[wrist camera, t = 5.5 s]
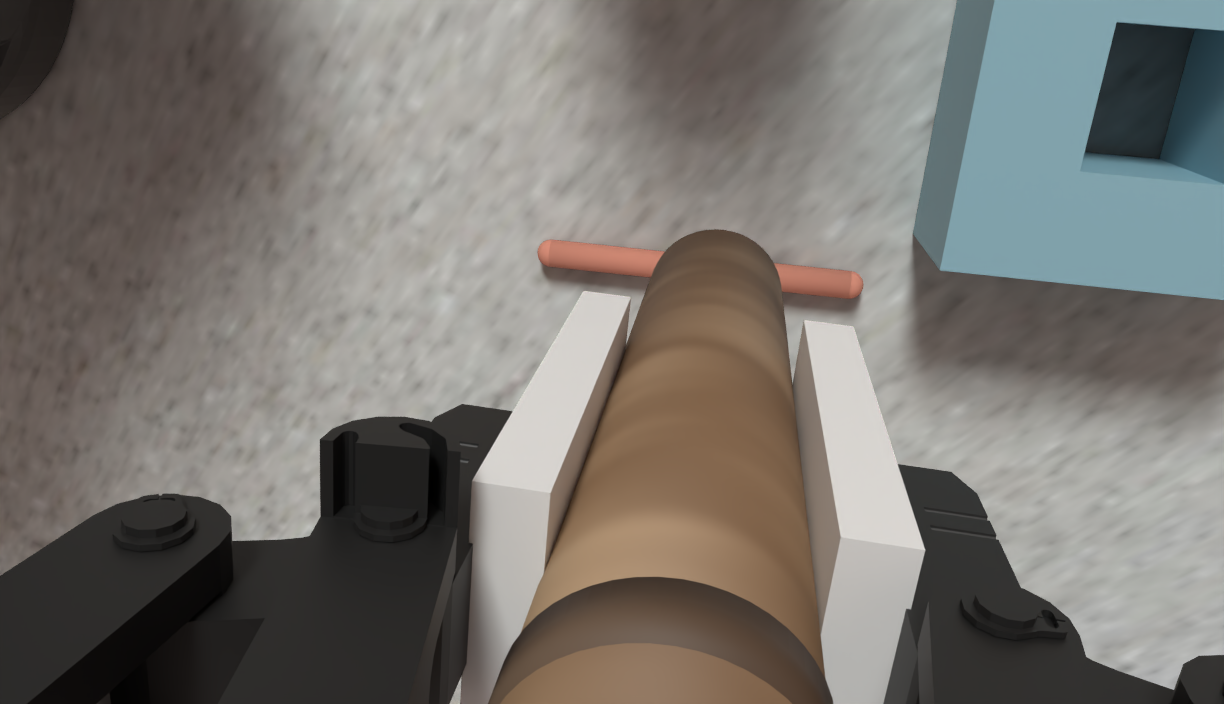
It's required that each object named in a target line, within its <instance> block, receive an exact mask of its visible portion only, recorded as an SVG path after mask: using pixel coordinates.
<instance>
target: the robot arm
mask: <svg viewBox="0 0 1224 704" xmlns="http://www.w3.org/2000/svg"><path fill="white" fill-rule="evenodd" d="M72 6H73V0H0V118H2V117H4V116H5V115H7V114H8V113H10V112H12V111H13V110H14V109H15V108H17V107H18V106H19V105H20V104H22V103H23V102H24V101H25V100H26V99H27V98H28V97H29V96H30V95H31V94H32V93H33V92H34V91H35V89H36V88H37V87H38V86H39V85H40V84H41V82H42V81H43V79H44V78H45V76H46V75H47V74H48V72H49V70H50V68H51V67H52V65H53V63H54V62H55V59H56V57H57V55H58V53H59V51H60V49H61V46H62V43H63V41H64V38H65V35H66V32H67V28H68V25H69V21H70V16H71V11H72ZM630 301H631V297H626V296H619V295H611V294H604V293H596V292H589V291H583V293H582V294H581V296H580V298H579V299H578V301H577V303H576V305H575V306H574V308H573V310H572V311H571V313H570V315H569V316H568V318H567V320H566V322H565V323H564V325H563V327H562V328H561V330H560V332H559V334H558V335H557V337H556V339H555V340H554V342H553V344H552V345H551V347H550V349H549V351H548V352H547V354H546V356H545V357H544V359H543V361H542V362H541V364H540V366H539V368H538V369H537V371H536V373H535V374H534V376H533V378H532V380H531V381H530V383H529V385H528V386H527V388H526V390H525V391H524V393H523V395H522V397H521V398H520V400H519V402H518V403H517V405H516V407H515V408H514V410H513V411H507V410H500V409H493V408H486V407H479V406H472V405H465V404H461V405H459V406H457V407H455V408H453V409H451V410H449V411H447V412H445V413H443V414H441V415H439V416H437V417H435V418H434V419H433V421H432V422H430V421H425V420H420V419H414V418H408V417H373V418H367V419H361V420H355V421H351V422H349V423H346V424H344V425H341V426H338V427H336V428H333V429H332V430H331V431H329V432H328V433H327V434H326V435H325V436H324V437H322V438H321V439H320V500H321V517H320V519H319V521H318V522H317V524H316V526H315V528H314V530H313V531H312V533H311V535H310V536H308V537H304V538H294V539H283V540H256V541H232V527H231V516H230V515H229V514H228V513H227V511H226V510H225V509H224V508H223V507H222V506H221V505H219V504H217V503H214V502H211V501H209V500H206V499H204V498H201V497H193V496H184V495H179V494H162V496H159V494H156V495H148V496H143V497H140V498H139V499H135V500H131V501H127V502H123V503H119V504H116V505H114V506H112V507H110V508H108V509H106V510H104V511H102V512H100V513H97V514H95V515H93V516H92V517H90V518H89V519H87V520H86V521H84V522H83V523H81V524H79V525H78V526H76V527H75V528H73V529H72V530H70V531H69V532H67V533H66V534H64V535H63V536H61V537H59V538H58V539H56V540H55V541H53V542H52V543H50V544H49V545H47V546H46V547H44V548H43V549H41V550H39V551H38V552H36V553H35V554H33V555H32V556H30V557H29V558H27V559H26V560H24V561H23V562H21V563H19V564H18V565H16V566H15V567H13V568H12V569H10V570H9V571H7V572H6V573H4V574H3V575H1V576H0V704H449V703H450V701H451V698H452V696H453V694H454V692H455V689H456V687H457V685H458V682H459V680H460V678H461V675H462V682H461V701H460V704H488V702H489V700H490V697H491V694H492V692H493V689H494V686H495V684H496V681H497V678H498V676H499V673H500V670H501V668H502V665H503V662H504V660H505V658H506V656H507V654H508V652H509V650H510V648H511V646H512V644H513V643H514V642H515V640H516V639H517V637H518V636H519V635H520V633H521V630H522V628H523V625H524V622H525V619H526V617H527V614H528V611H529V609H530V606H531V603H532V600H533V598H534V595H535V592H536V589H537V587H538V584H539V582H540V580H541V578H542V576H543V574H544V572H545V569H546V566H547V564H548V561H549V558H550V555H551V553H552V550H553V547H554V544H555V542H556V539H557V536H558V533H559V531H560V528H561V525H562V522H563V520H564V517H565V514H566V511H567V509H568V506H569V503H570V500H571V498H572V495H573V492H574V489H575V487H576V484H577V481H578V478H579V476H580V473H581V470H582V467H583V465H584V462H585V459H586V456H587V454H588V451H589V448H590V445H591V443H592V440H593V437H594V434H595V432H596V429H597V426H598V423H599V421H600V418H601V415H602V412H603V410H604V407H605V404H606V401H607V399H608V396H609V393H610V390H611V388H612V385H613V382H614V379H615V377H616V374H617V371H618V368H619V366H620V363H621V360H622V357H623V355H624V352H625V348H626V338H627V329H628V320H629V311H630ZM792 386H793V395H794V404H795V413H796V421H797V430H798V439H799V448H800V457H801V466H802V475H803V484H804V492H805V501H806V510H807V519H808V528H809V537H810V546H811V555H812V564H813V572H814V581H815V590H816V599H817V608H818V617H819V626H820V635H821V643H822V652H823V661H824V670H825V679H826V682H827V685H828V687H829V690H830V693H831V696H832V699H833V704H1224V655H1213V656H1198V657H1196V658H1194V659H1192V660H1190V661H1188V662H1186V663H1185V664H1183V667H1182V670H1181V673H1180V675H1179V678H1178V681H1177V683H1176V686H1175V689H1174V690H1172V689H1169V688H1166V687H1163V686H1160V685H1157V684H1154V683H1151V682H1149V681H1146V680H1143V679H1140V678H1137V677H1134V676H1131V675H1128V674H1125V673H1122V672H1119V671H1117V670H1114V669H1112V668H1109V667H1107V666H1104V665H1102V664H1099V663H1097V662H1095V661H1092V660H1091V659H1089V658H1087V657H1086V655H1085V652H1084V648H1083V645H1082V642H1081V638H1080V635H1079V634H1078V632H1077V630H1076V629H1075V627H1074V626H1073V624H1072V622H1071V621H1070V619H1069V618H1068V617H1067V616H1065V615H1064V614H1063V613H1062V612H1061V611H1059V610H1058V609H1057V608H1056V607H1055V606H1053V605H1052V604H1051V603H1050V602H1048V601H1046V600H1044V599H1042V598H1040V597H1038V596H1037V595H1035V594H1033V593H1031V592H1029V591H1027V590H1025V589H1023V588H1021V587H1020V585H1019V583H1018V581H1017V579H1016V576H1015V574H1014V572H1013V570H1012V568H1011V566H1010V564H1009V561H1008V559H1007V557H1006V555H1005V553H1004V551H1003V548H1002V546H1001V544H1000V542H999V540H996V533H995V531H994V529H993V527H992V525H991V523H990V521H987V517H988V516H987V514H986V512H985V510H984V508H983V505H982V503H981V501H980V499H979V497H978V495H977V493H975V492H974V491H973V490H972V489H971V488H970V487H968V486H967V485H966V484H965V483H964V482H962V481H961V480H960V479H959V478H958V477H957V476H955V475H954V474H953V473H952V472H948V471H941V470H934V469H927V468H920V467H913V466H906V465H900V464H897V461H896V458H895V455H894V451H893V448H892V445H891V442H890V439H889V436H888V433H887V430H886V427H885V423H884V420H883V417H882V414H881V411H880V408H879V405H878V402H877V399H876V395H875V392H874V389H873V386H872V383H871V380H870V377H869V374H868V371H867V367H866V364H865V361H864V358H863V355H862V352H861V349H860V346H859V343H858V339H857V336H856V333H855V330H854V327H853V326H846V325H838V324H830V323H823V322H815V321H808V320H804V322H803V328H802V334H801V339H800V345H799V351H798V357H797V362H796V368H795V374H794V379H793V385H792Z"/></svg>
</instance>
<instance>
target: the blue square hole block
mask: <svg viewBox="0 0 1224 704" xmlns="http://www.w3.org/2000/svg"><path fill="white" fill-rule="evenodd" d="M1116 23H1126V24H1138V25H1150V26H1163V27H1175V28H1188V29H1195V31H1194V35H1193V38H1192V42H1191V45H1190V49H1189V53H1188V56H1187V60H1186V64H1185V67H1184V71H1183V75H1182V78H1181V82H1180V86H1179V89H1178V93H1177V97H1176V100H1175V104H1174V108H1173V111H1172V115H1171V118H1170V122H1169V126H1168V129H1167V133H1166V137H1165V140H1164V144H1163V148H1162V151H1161V155H1160V159H1153V158H1142V157H1131V156H1121V155H1110V154H1099V153H1088V152H1085V149H1086V145H1087V140H1088V136H1089V132H1090V128H1091V124H1092V120H1093V116H1094V112H1095V108H1096V104H1097V100H1098V96H1099V92H1100V88H1101V84H1102V80H1103V76H1104V71H1105V67H1106V63H1107V59H1108V55H1109V51H1110V47H1111V43H1112V39H1113V35H1114V31H1115V27H1116ZM913 234H914V236H915V237H916V239H917V240H918V241H919V243H920V244H921V245H922V247H923V248H924V249H925V251H926V252H927V254H928V255H929V256H930V258H931V259H932V260H933V262H934V263H935V264H936V266H937V267H938V269H939V270H941V271H951V272H960V273H970V274H979V275H989V276H998V277H1008V278H1018V279H1027V280H1037V281H1046V282H1056V283H1065V284H1075V285H1085V286H1094V287H1104V288H1113V289H1123V290H1132V291H1142V292H1152V293H1161V294H1171V295H1180V296H1190V297H1199V298H1209V299H1219V300H1224V0H957V5H956V10H955V15H954V21H953V26H952V31H951V36H950V42H949V47H948V52H947V57H946V63H945V68H944V73H943V78H942V84H941V89H940V94H939V100H938V105H937V110H936V115H935V121H934V126H933V131H932V136H931V142H930V147H929V152H928V157H927V163H926V168H925V173H924V179H923V184H922V189H921V194H920V200H919V205H918V210H917V215H916V221H915V226H914V231H913Z"/></svg>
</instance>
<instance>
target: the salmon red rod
mask: <svg viewBox="0 0 1224 704" xmlns="http://www.w3.org/2000/svg"><path fill="white" fill-rule="evenodd" d="M663 254H664V251H654V250H645V249H635V248H626V247H616V246H607V245H597V244H588V243H578V242H569V241H559V240H547V241H544V242H543V243H542V244H541V245H540V246H539V248H538V258H539V260H540V261H541V262H542V263H543V264H544V265H546V266H550V267H558V268H568V269H577V270H586V271H596V272H605V273H614V274H623V275H633V276H642V277H651V276H652V273H653V270H654V268H655V266H656V264H657V262H658V261H659V259H660V258H661V256H662V255H663ZM774 265H775V267H776V269H777V271H778V274H779V277H780V282H781V288H782V292H790V293H799V294H809V295H818V296H827V297H836V298H846V299H851V298H855V297H857V296H858V295H859V294H860V293H861V291H862V289H863V280H862V278H861V277H860V276H859V274H857V273H855V272H852V271H844V270H834V269H825V268H815V267H806V266H796V265H787V264H778V263H774Z"/></svg>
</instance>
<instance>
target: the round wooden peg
mask: <svg viewBox="0 0 1224 704" xmlns="http://www.w3.org/2000/svg"><path fill="white" fill-rule="evenodd" d="M488 704H833V699H832V696H831V693H830V690H829V687H828V685H827V682H826V679H825V670H824V661H823V652H822V643H821V635H820V626H819V617H818V608H817V599H816V590H815V581H814V572H813V564H812V555H811V546H810V537H809V528H808V519H807V510H806V501H805V492H804V484H803V475H802V466H801V457H800V448H799V439H798V430H797V421H796V413H795V404H794V395H793V386H792V377H791V368H790V359H789V350H788V341H787V333H786V324H785V315H784V306H783V297H782V288H781V282H780V277H779V274H778V271H777V269H776V267H775V265H774V263H773V261H772V260H771V258H770V257H769V255H768V254H767V253H766V252H765V251H764V250H763V248H761V247H760V246H759V245H758V244H757V243H755V242H754V241H752V240H751V239H749V238H747V237H745V236H743V235H741V234H738V233H735V232H731V231H726V230H704V231H699V232H695V233H693V234H690V235H687V236H685V237H683V238H681V239H680V240H678V241H677V242H675V243H674V244H673V245H672V246H670V247H669V248H668V249H667V250H666V251H665V252H664V254H663V255H662V256H661V258H660V259H659V261H658V262H657V264H656V266H655V268H654V270H653V273H652V276H651V279H650V281H649V284H648V287H647V289H646V292H645V295H644V298H643V300H642V303H641V306H640V309H639V311H638V314H637V317H636V319H635V322H634V325H633V328H632V330H631V333H630V336H629V339H628V341H627V344H626V348H625V352H624V355H623V357H622V360H621V363H620V366H619V368H618V371H617V374H616V377H615V379H614V382H613V385H612V388H611V390H610V393H609V396H608V399H607V401H606V404H605V407H604V410H603V412H602V415H601V418H600V421H599V423H598V426H597V429H596V432H595V434H594V437H593V440H592V443H591V445H590V448H589V451H588V454H587V456H586V459H585V462H584V465H583V467H582V470H581V473H580V476H579V478H578V481H577V484H576V487H575V489H574V492H573V495H572V498H571V500H570V503H569V506H568V509H567V511H566V514H565V517H564V520H563V522H562V525H561V528H560V531H559V533H558V536H557V539H556V542H555V544H554V547H553V550H552V553H551V555H550V558H549V561H548V564H547V566H546V569H545V572H544V574H543V576H542V578H541V580H540V582H539V584H538V587H537V589H536V592H535V595H534V598H533V600H532V603H531V606H530V609H529V611H528V614H527V617H526V619H525V622H524V625H523V628H522V630H521V633H520V635H519V636H518V637H517V639H516V640H515V642H514V643H513V644H512V646H511V648H510V650H509V652H508V654H507V656H506V658H505V660H504V662H503V665H502V668H501V670H500V673H499V676H498V678H497V681H496V684H495V686H494V689H493V692H492V694H491V697H490V700H489V702H488Z"/></svg>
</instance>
